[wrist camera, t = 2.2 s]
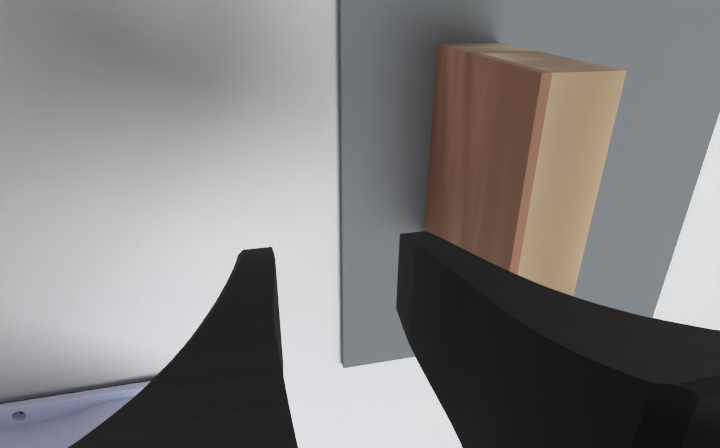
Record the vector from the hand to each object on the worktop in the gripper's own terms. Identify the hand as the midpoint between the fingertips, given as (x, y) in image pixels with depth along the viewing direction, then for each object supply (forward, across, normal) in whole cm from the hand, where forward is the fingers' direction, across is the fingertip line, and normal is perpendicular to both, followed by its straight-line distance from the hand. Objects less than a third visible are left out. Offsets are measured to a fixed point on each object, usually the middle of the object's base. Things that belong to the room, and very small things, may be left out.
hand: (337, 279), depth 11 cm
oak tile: (+9, -7, 0) cm, 11 cm away
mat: (+9, -11, +2) cm, 15 cm away
